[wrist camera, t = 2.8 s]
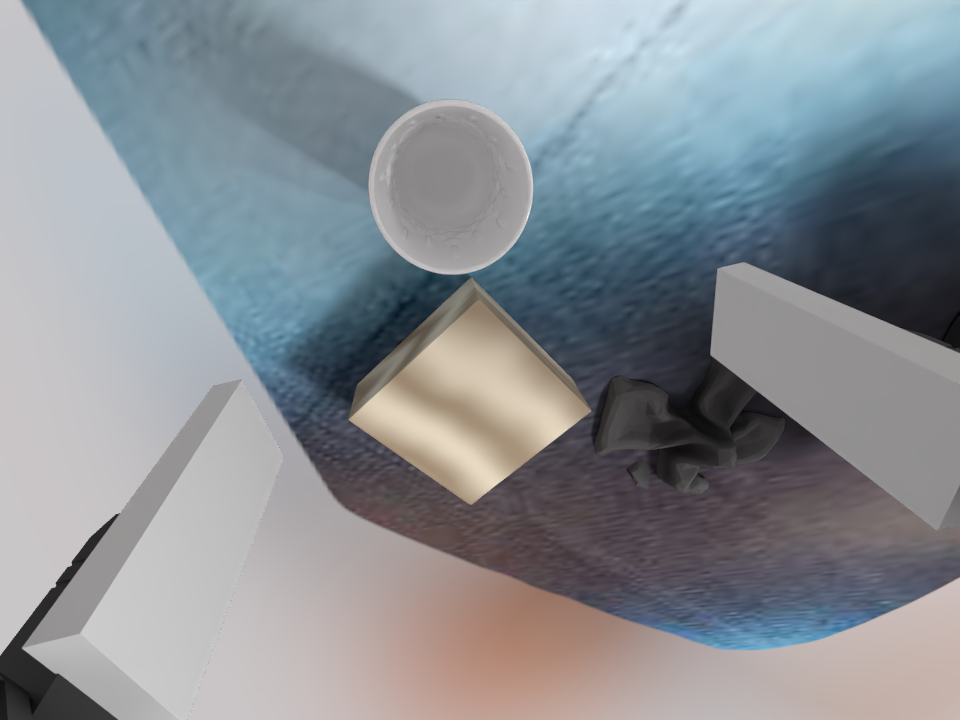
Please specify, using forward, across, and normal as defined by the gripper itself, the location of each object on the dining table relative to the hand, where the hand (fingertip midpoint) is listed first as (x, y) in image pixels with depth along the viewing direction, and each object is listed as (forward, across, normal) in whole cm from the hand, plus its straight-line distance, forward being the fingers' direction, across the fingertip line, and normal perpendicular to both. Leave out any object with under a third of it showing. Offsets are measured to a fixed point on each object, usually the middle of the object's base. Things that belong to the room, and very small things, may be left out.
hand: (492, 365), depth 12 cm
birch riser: (+22, +1, +14) cm, 25 cm away
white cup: (+22, -1, -3) cm, 22 cm away
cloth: (+22, -20, +26) cm, 39 cm away
